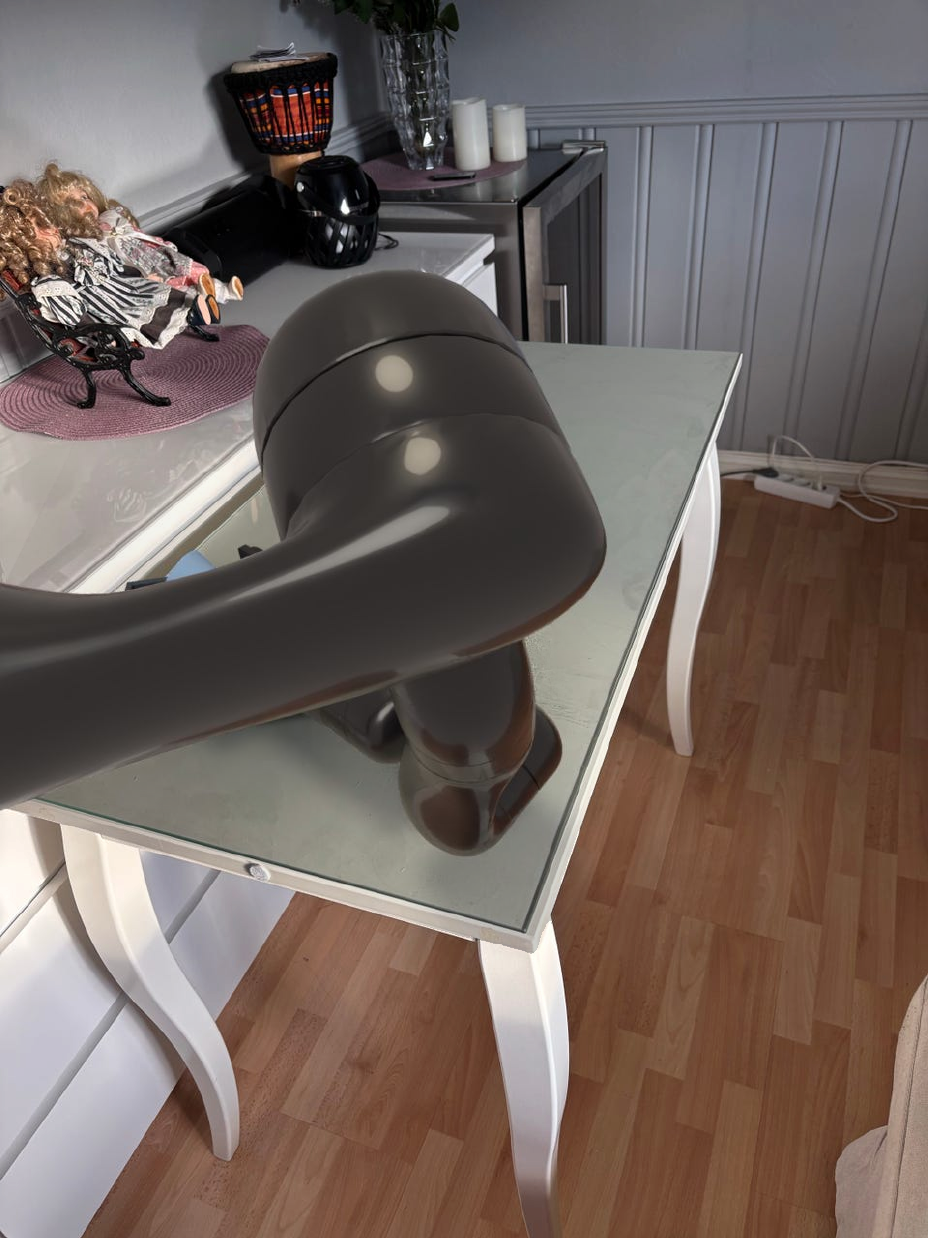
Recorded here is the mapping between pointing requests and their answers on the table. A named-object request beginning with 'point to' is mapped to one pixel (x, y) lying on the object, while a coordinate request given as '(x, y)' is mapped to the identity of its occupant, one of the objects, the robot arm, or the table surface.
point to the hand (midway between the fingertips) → (200, 578)
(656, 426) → the table surface
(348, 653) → the robot arm
